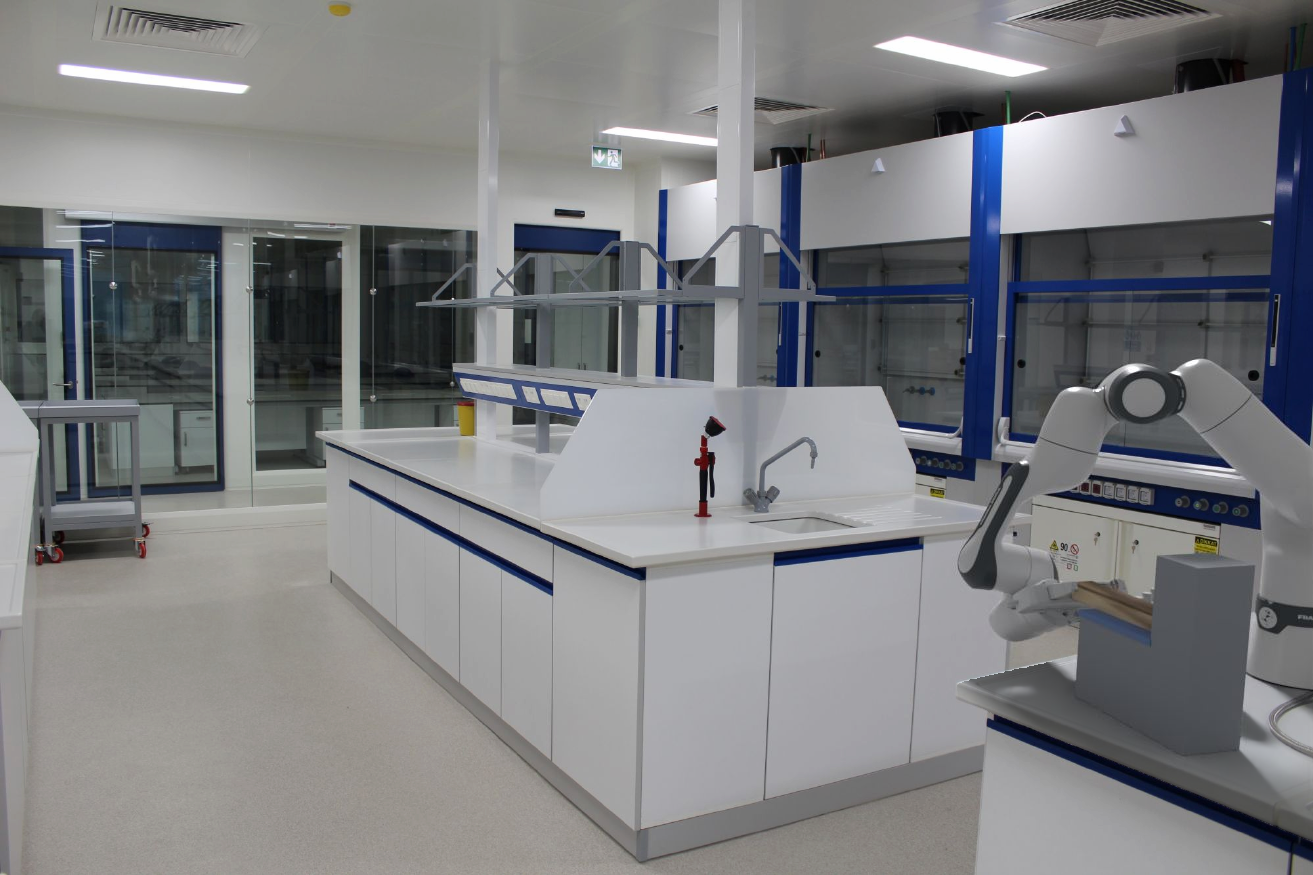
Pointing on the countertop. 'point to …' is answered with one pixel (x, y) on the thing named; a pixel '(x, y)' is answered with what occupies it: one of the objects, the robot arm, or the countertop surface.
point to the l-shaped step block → (1175, 656)
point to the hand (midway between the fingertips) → (1098, 584)
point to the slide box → (1115, 603)
